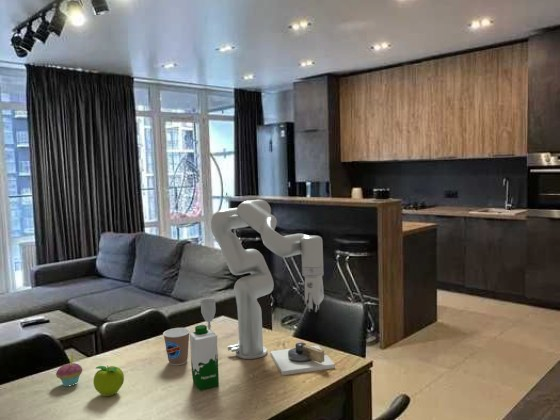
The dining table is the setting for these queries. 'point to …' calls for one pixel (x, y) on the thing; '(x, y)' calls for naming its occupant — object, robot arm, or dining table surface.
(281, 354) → the base plate
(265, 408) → the dining table surface
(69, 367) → the cupcake
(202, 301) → the chalice
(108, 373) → the fruit
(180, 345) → the coffee cup
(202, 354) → the milk carton
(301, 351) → the cam dial
